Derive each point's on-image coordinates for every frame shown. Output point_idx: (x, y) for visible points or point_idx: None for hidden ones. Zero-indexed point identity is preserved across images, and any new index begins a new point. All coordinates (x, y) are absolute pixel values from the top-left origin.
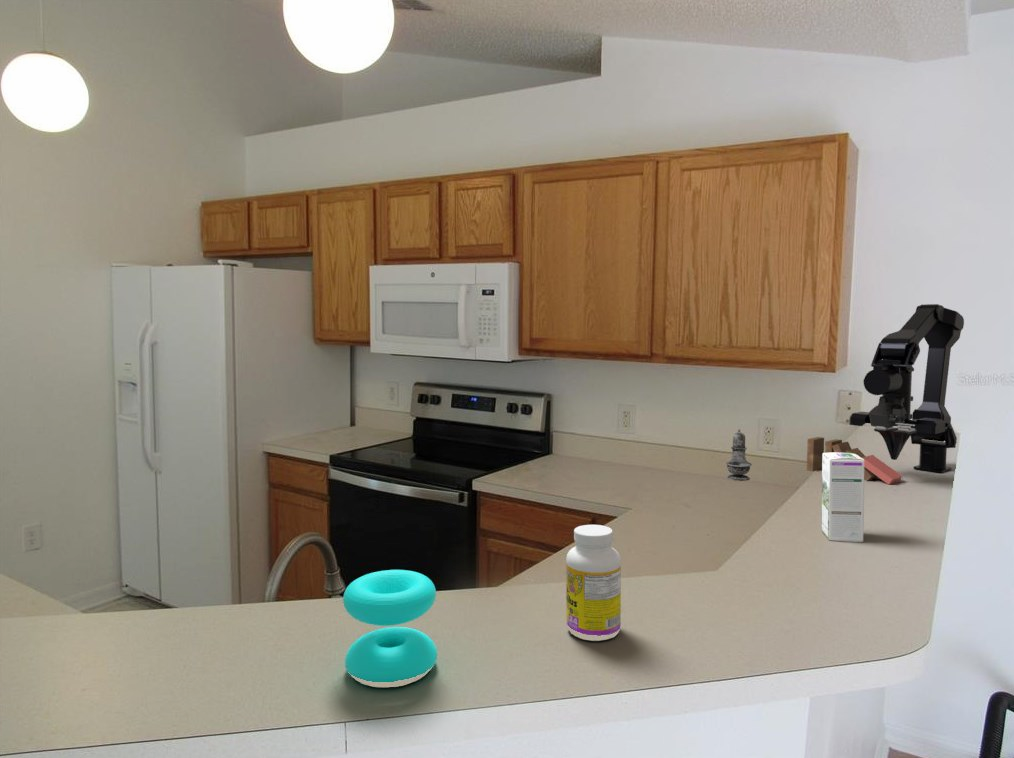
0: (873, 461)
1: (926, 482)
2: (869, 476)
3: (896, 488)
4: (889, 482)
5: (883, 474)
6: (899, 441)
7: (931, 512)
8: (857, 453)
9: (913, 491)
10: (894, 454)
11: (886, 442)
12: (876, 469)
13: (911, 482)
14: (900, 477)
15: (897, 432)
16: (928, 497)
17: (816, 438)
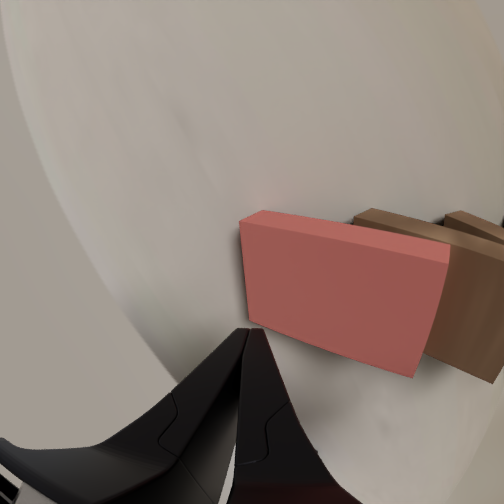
0: (383, 303)
1: (200, 353)
2: (365, 216)
3: (198, 165)
4: (257, 214)
5: (288, 225)
6: (137, 429)
7: (12, 5)
8: (484, 332)
9: (130, 174)
10: (230, 349)
11: (284, 422)
12: (334, 233)
13: (229, 323)
14: (251, 306)
15: (34, 479)
16: (61, 134)
17: None
